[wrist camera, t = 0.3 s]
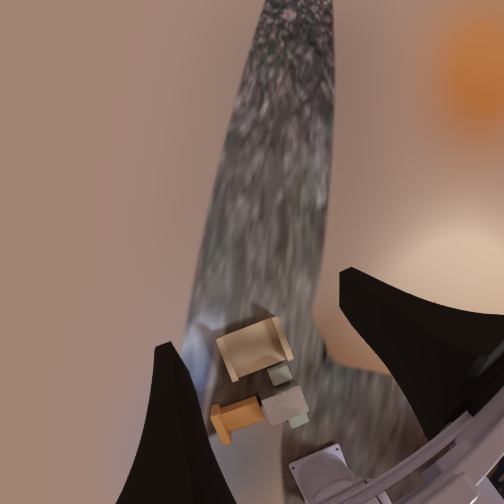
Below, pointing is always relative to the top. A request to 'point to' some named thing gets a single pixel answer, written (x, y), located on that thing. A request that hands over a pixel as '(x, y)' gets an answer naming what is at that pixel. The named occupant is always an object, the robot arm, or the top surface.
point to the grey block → (283, 401)
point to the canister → (497, 476)
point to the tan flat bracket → (254, 347)
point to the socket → (279, 376)
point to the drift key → (235, 417)
